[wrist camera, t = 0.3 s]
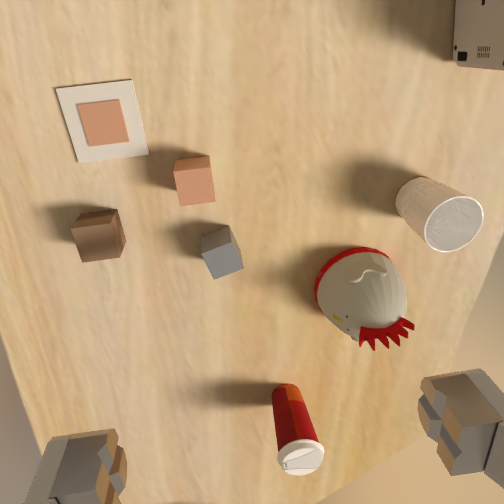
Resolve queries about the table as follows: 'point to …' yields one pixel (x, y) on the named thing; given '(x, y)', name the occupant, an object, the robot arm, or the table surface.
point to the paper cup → (295, 432)
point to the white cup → (439, 214)
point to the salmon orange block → (194, 181)
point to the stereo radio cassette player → (479, 34)
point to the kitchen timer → (364, 296)
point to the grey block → (221, 252)
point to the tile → (103, 121)
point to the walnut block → (99, 235)
